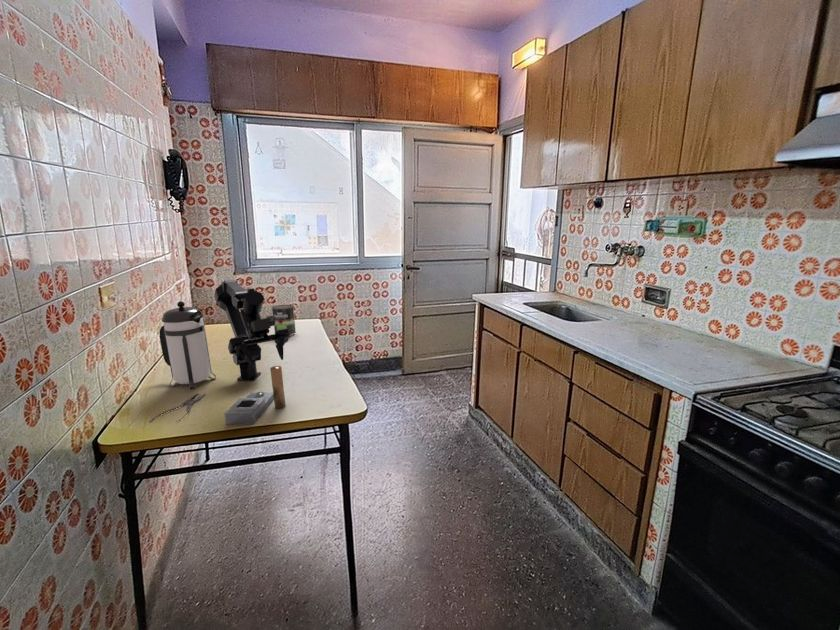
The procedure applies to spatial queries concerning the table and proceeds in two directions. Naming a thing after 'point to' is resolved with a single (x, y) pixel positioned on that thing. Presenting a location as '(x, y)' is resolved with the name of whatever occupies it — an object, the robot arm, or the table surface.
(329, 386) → the table surface
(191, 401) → the pliers
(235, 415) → the gray remote-style box
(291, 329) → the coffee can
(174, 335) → the coffee press
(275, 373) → the pin
